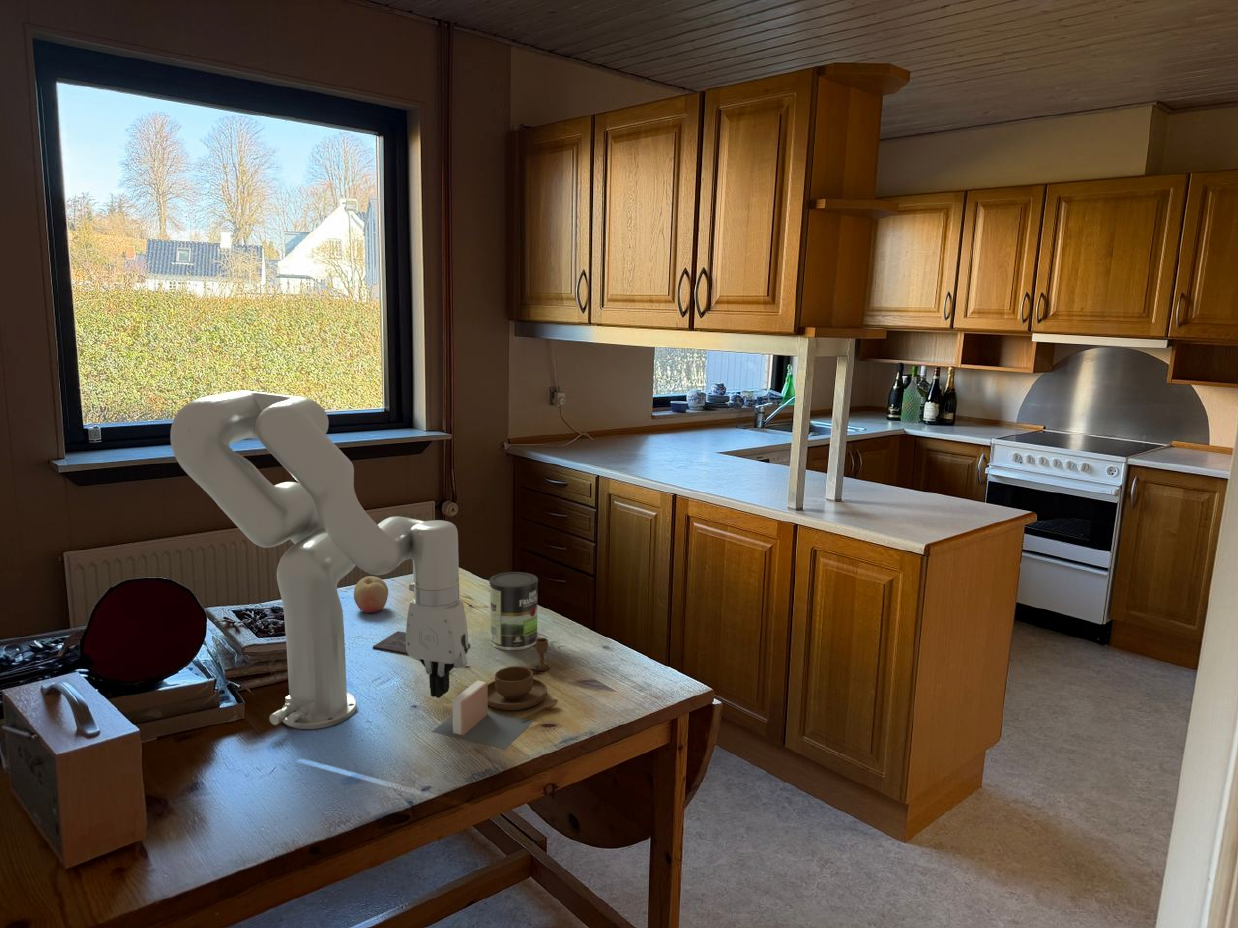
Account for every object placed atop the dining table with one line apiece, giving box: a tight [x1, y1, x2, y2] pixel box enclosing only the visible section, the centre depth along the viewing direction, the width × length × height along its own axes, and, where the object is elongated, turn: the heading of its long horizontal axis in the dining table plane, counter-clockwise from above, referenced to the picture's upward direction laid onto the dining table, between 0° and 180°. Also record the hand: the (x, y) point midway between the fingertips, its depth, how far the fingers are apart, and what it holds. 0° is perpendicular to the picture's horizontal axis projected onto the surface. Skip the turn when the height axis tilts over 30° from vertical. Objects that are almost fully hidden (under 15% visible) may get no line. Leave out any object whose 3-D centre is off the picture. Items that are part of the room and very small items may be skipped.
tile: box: [452, 680, 489, 735], centre depth 142 cm, size 8×2×6 cm, turn 158°
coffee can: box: [489, 571, 539, 651], centre depth 178 cm, size 10×10×14 cm
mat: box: [431, 710, 534, 750], centre depth 141 cm, size 10×14×1 cm
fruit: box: [353, 575, 389, 614], centre depth 194 cm, size 8×8×8 cm
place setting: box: [487, 637, 558, 719], centre depth 154 cm, size 18×20×6 cm
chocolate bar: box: [372, 630, 471, 657], centre depth 175 cm, size 9×1×18 cm
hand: (439, 693), depth 144 cm, fingers closed
